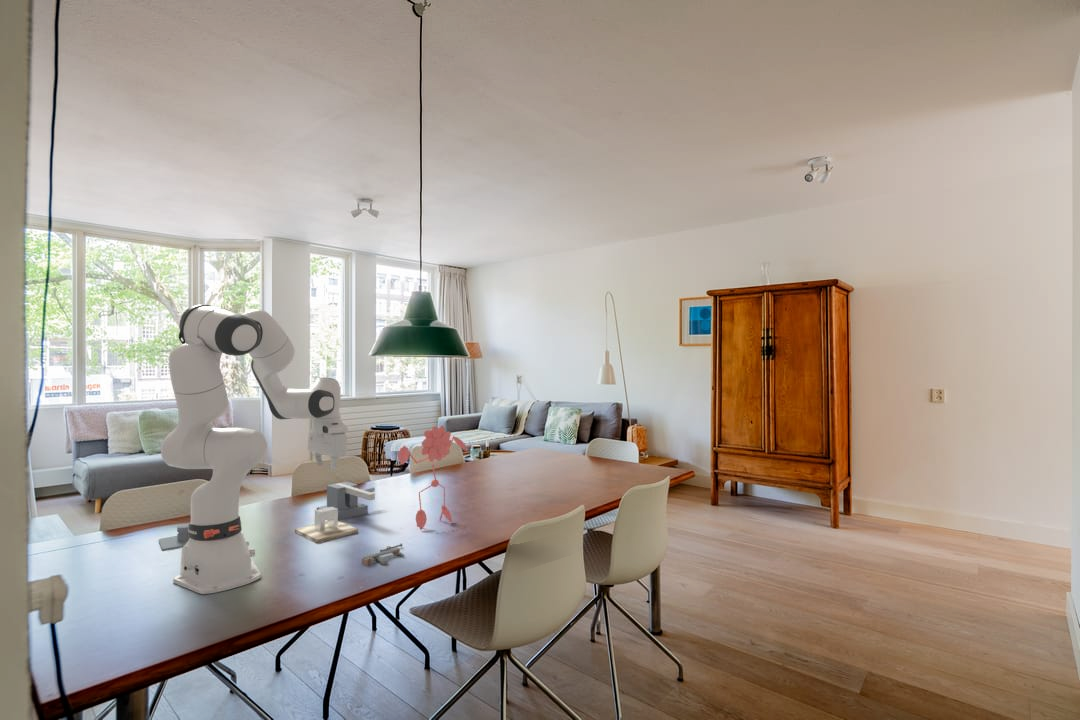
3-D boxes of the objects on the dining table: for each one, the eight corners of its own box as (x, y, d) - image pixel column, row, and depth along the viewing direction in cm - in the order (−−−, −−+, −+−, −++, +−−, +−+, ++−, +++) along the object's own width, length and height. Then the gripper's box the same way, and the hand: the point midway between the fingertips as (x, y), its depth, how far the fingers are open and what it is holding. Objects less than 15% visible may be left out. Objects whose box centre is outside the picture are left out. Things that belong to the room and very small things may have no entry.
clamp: (371, 562, 144) (354, 553, 151) (371, 570, 144) (354, 561, 151) (419, 548, 155) (400, 540, 162) (418, 556, 155) (400, 548, 162)
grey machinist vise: (404, 517, 192) (404, 487, 192) (353, 530, 177) (353, 498, 177) (365, 504, 210) (365, 477, 210) (316, 515, 195) (316, 485, 195)
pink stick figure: (393, 530, 177) (393, 427, 178) (457, 515, 195) (457, 421, 195) (415, 541, 166) (415, 431, 166) (482, 525, 183) (481, 425, 184)
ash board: (358, 532, 175) (358, 528, 175) (316, 543, 165) (316, 539, 165) (334, 522, 186) (334, 519, 186) (294, 532, 176) (294, 528, 176)
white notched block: (337, 528, 176) (337, 508, 176) (320, 532, 172) (320, 512, 172) (332, 525, 179) (332, 506, 179) (314, 529, 174) (314, 510, 175)
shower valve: (219, 524, 168) (162, 534, 158) (219, 541, 168) (162, 552, 158) (212, 515, 178) (158, 524, 168) (212, 532, 178) (158, 541, 168)
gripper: (303, 424, 180) (302, 465, 180) (331, 429, 167) (331, 472, 166) (321, 423, 185) (320, 462, 185) (350, 427, 172) (350, 470, 171)
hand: (326, 467), depth 176 cm, fingers open, 8 cm apart
